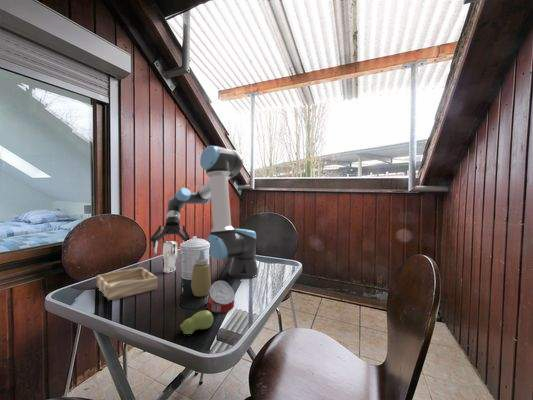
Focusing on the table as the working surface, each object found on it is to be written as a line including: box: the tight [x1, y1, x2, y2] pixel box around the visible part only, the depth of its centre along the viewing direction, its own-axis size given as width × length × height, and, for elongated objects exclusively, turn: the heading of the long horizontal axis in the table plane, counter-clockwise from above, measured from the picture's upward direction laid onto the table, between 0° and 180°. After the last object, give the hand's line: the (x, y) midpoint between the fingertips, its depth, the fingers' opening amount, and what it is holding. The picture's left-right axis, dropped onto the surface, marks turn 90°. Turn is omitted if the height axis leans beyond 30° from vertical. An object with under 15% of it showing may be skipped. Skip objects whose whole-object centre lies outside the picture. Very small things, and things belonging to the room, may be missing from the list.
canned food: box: [206, 280, 236, 313], centre depth 92 cm, size 11×10×10 cm
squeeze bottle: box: [190, 249, 212, 298], centre depth 101 cm, size 8×8×18 cm
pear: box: [179, 309, 214, 335], centre depth 76 cm, size 6×5×10 cm
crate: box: [96, 266, 159, 302], centre depth 105 cm, size 18×18×5 cm
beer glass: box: [162, 240, 178, 274], centre depth 128 cm, size 7×7×15 cm
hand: (169, 252), depth 129 cm, fingers open, 13 cm apart
